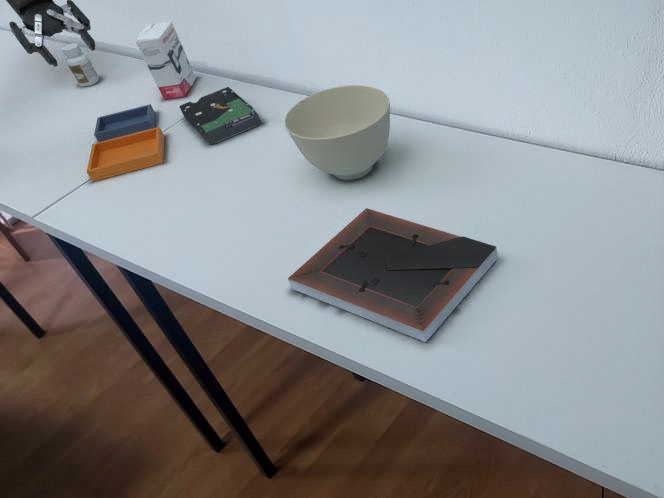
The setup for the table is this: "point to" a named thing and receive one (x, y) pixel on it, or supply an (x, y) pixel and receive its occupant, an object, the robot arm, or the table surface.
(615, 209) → the table surface
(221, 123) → the disk drive
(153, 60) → the ink box
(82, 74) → the pill bottle
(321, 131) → the bowl
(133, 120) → the slate tray
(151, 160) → the orange tray
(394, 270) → the picture frame
